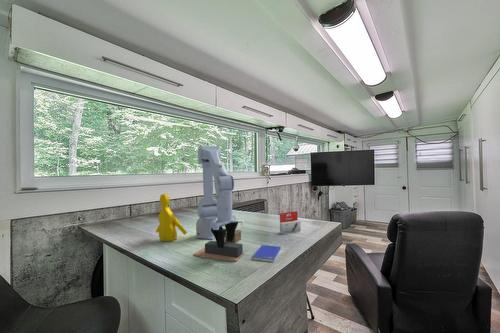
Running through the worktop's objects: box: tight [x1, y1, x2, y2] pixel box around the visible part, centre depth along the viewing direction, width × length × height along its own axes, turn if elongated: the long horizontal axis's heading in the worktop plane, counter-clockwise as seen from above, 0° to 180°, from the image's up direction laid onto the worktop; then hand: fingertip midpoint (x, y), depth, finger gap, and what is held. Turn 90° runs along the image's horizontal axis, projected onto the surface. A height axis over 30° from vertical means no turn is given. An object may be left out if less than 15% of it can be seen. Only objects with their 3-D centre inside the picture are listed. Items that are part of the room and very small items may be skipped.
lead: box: [204, 240, 244, 258], centre depth 81 cm, size 14×4×4 cm, turn 67°
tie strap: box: [235, 219, 245, 231], centre depth 99 cm, size 3×13×3 cm, turn 158°
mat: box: [192, 247, 245, 263], centre depth 81 cm, size 18×7×1 cm, turn 68°
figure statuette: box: [155, 193, 188, 242], centre depth 101 cm, size 18×8×22 cm, turn 73°
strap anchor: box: [225, 229, 242, 243], centre depth 97 cm, size 5×6×4 cm
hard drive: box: [251, 244, 282, 263], centre depth 80 cm, size 2×8×12 cm
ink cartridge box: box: [279, 210, 301, 235], centre depth 107 cm, size 2×11×10 cm, turn 115°
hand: (225, 244), depth 80 cm, fingers open, 7 cm apart
